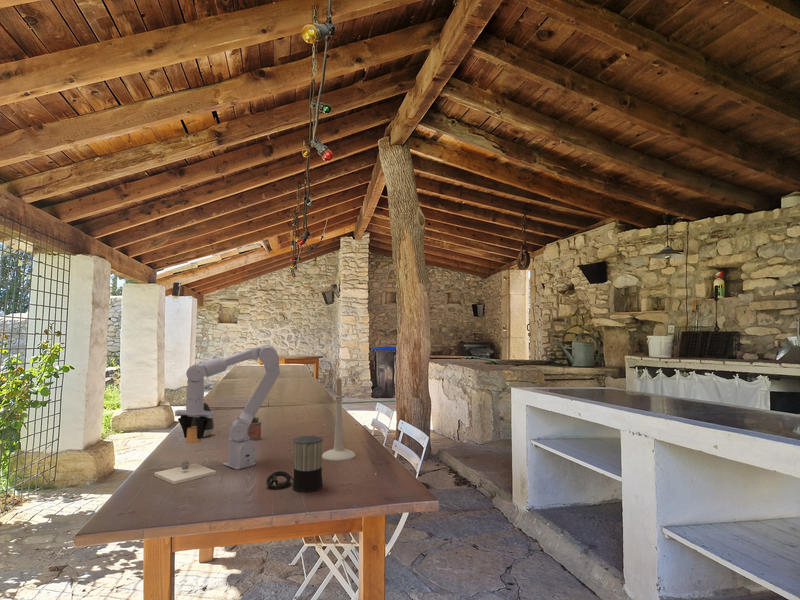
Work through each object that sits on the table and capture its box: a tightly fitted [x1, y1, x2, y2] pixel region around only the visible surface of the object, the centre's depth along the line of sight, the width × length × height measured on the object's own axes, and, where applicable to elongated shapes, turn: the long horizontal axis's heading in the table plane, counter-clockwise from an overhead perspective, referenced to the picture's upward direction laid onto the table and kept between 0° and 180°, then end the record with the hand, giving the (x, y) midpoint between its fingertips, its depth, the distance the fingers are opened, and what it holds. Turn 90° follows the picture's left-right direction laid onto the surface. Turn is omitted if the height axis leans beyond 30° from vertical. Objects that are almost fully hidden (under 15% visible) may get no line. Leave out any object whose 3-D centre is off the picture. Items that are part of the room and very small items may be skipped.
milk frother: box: [265, 435, 324, 493], centre depth 147 cm, size 14×16×15 cm
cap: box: [185, 426, 202, 444], centre depth 167 cm, size 5×5×5 cm
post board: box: [153, 459, 217, 485], centre depth 159 cm, size 14×14×5 cm
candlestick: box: [322, 377, 357, 462], centre depth 182 cm, size 13×13×30 cm
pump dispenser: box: [191, 402, 215, 438], centre depth 216 cm, size 10×10×15 cm
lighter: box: [247, 415, 262, 441], centre depth 209 cm, size 8×3×10 cm, turn 84°
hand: (193, 437), depth 167 cm, fingers closed on cap, 5 cm apart
